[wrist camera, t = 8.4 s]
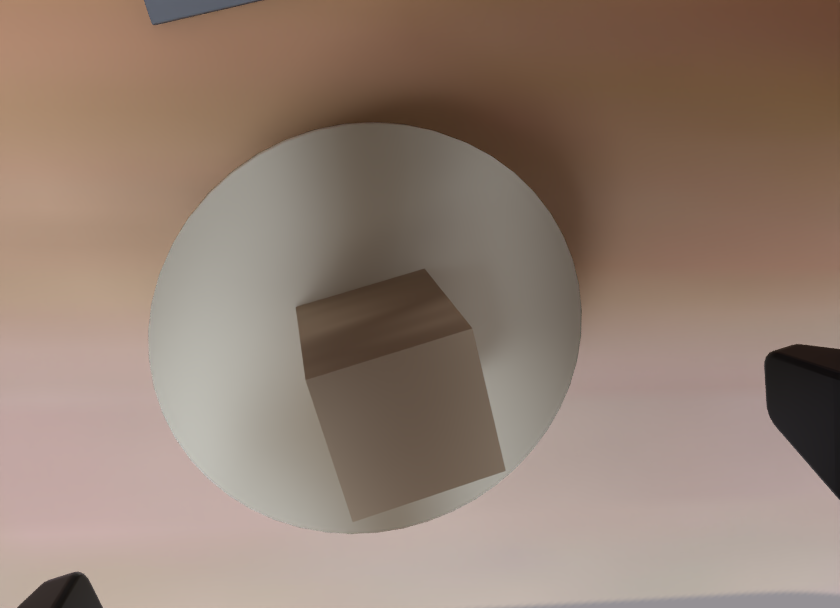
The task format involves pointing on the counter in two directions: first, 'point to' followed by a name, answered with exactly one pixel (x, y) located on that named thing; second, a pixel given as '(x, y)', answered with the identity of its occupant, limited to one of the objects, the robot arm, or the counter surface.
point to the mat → (186, 8)
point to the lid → (364, 328)
